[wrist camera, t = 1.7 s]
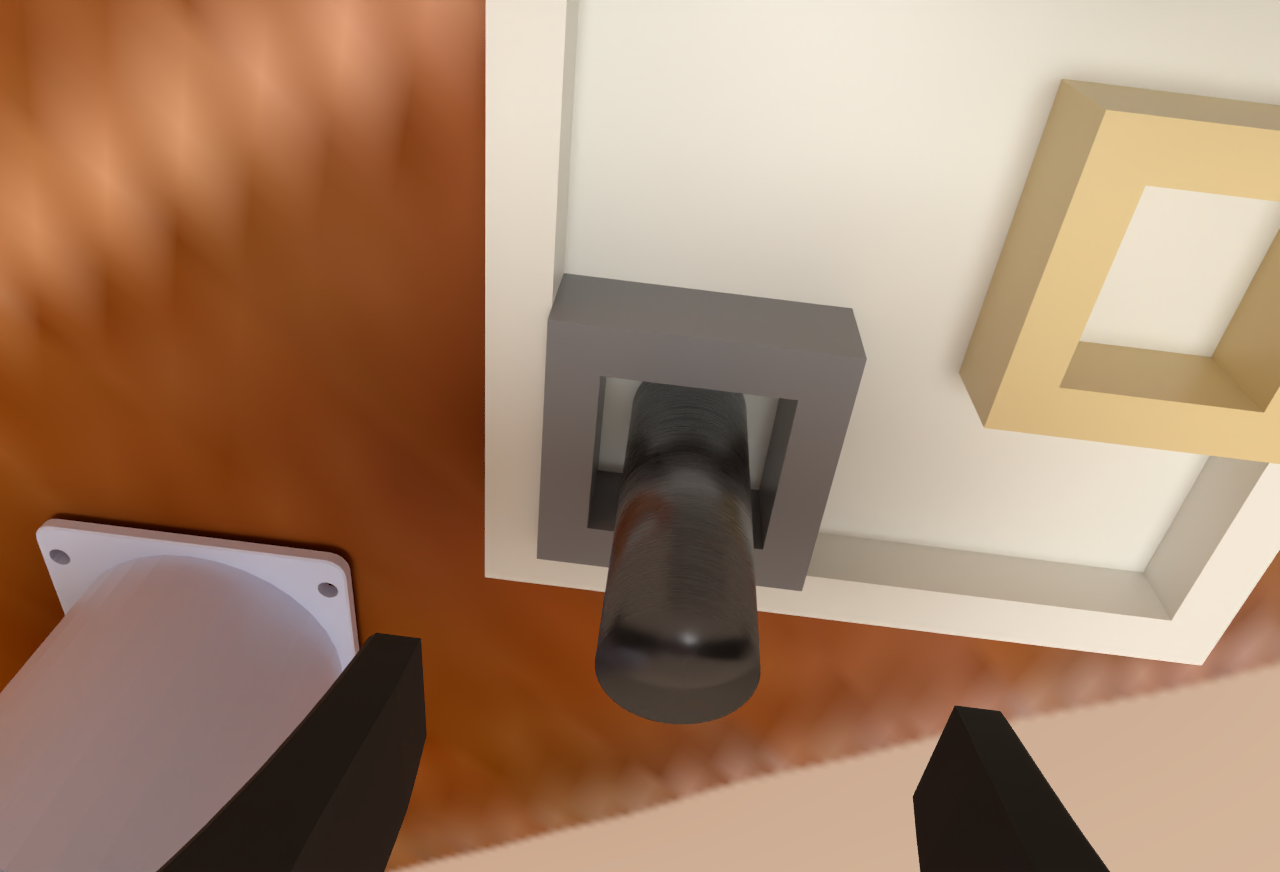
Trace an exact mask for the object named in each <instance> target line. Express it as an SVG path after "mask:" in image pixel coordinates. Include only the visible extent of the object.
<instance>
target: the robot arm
mask: <svg viewBox="0 0 1280 872" xmlns="http://www.w3.org/2000/svg"><path fill="white" fill-rule="evenodd" d="M36 539H37V542H38V544H39V547H40V550H41V552H42V555H43V558H44V560H45V563H46V566H47V568H48V571H49V574H50V576H51V579H52V582H53V584H54V587H55V590H56V592H57V595H58V598H59V600H60V603H61V606H62V609H63V611H64V614H65V616H64V618H63V619H62V620H61V621H60V622H59V624H58V625H57V626H56V627H55V628H54V630H53V631H52V632H51V633H50V634H49V636H48V637H47V638H46V639H45V640H44V641H43V643H42V644H41V645H40V646H39V647H38V649H37V650H36V651H35V652H34V653H33V655H32V656H31V657H30V658H29V659H28V661H27V662H26V663H25V664H24V665H23V667H22V668H21V669H20V670H19V671H18V673H17V674H16V675H15V676H14V677H13V679H12V680H11V681H10V682H9V683H8V685H7V686H6V687H5V688H4V689H3V691H2V692H1V693H0V872H384V871H385V868H386V865H387V863H388V860H389V857H390V855H391V852H392V849H393V846H394V844H395V841H396V838H397V836H398V833H399V830H400V828H401V825H402V822H403V820H404V817H405V814H406V811H407V808H408V804H409V801H410V797H411V793H412V790H413V786H414V782H415V778H416V775H417V771H418V767H419V763H420V759H421V755H422V751H423V747H424V743H425V739H426V718H425V701H424V684H423V667H422V649H421V639H420V638H412V637H404V636H396V635H388V634H380V633H375V634H374V635H372V636H370V637H369V638H368V639H367V640H366V642H365V643H364V644H363V646H362V647H361V648H360V650H359V643H358V634H357V625H356V616H355V608H354V599H353V590H352V581H351V573H350V567H349V565H348V563H347V562H346V561H345V560H344V558H342V557H341V556H339V555H337V554H334V553H330V552H323V551H315V550H307V549H299V548H291V547H283V546H274V545H266V544H258V543H250V542H242V541H234V540H226V539H218V538H210V537H201V536H193V535H185V534H177V533H169V532H161V531H153V530H145V529H136V528H128V527H120V526H112V525H104V524H96V523H88V522H80V521H71V520H63V519H50V520H48V521H46V522H45V523H44V524H43V525H42V526H41V527H40V528H39V529H38V530H37V532H36ZM327 583H330V584H333V585H334V586H335V587H333V586H330V585H328V584H327ZM913 803H914V814H915V826H916V837H917V846H918V855H919V863H920V872H1110V871H1109V870H1108V868H1107V867H1106V865H1105V864H1104V863H1103V861H1102V860H1101V859H1100V857H1099V856H1098V854H1097V853H1096V852H1095V850H1094V849H1093V847H1092V846H1091V845H1090V843H1089V842H1088V840H1087V839H1086V838H1085V836H1084V835H1083V833H1082V832H1081V830H1080V829H1079V827H1078V826H1077V825H1076V823H1075V822H1074V820H1073V819H1072V817H1071V816H1070V814H1069V813H1068V811H1067V810H1066V808H1065V807H1064V806H1063V804H1062V803H1061V801H1060V800H1059V798H1058V797H1057V795H1056V794H1055V792H1054V791H1053V789H1052V788H1051V786H1050V785H1049V783H1048V782H1047V780H1046V779H1045V777H1044V776H1043V774H1042V773H1041V771H1040V770H1039V768H1038V767H1037V765H1036V764H1035V762H1034V761H1033V759H1032V758H1031V756H1030V755H1029V753H1028V751H1027V750H1026V749H1025V747H1024V745H1023V744H1022V742H1021V741H1020V739H1019V738H1018V736H1017V735H1016V733H1015V732H1014V730H1013V729H1012V727H1011V726H1010V724H1009V723H1008V721H1007V720H1006V718H1005V717H1004V716H1003V714H1002V713H1001V712H1000V711H994V710H986V709H978V708H970V707H962V706H954V709H953V711H952V713H951V715H950V717H949V719H948V722H947V724H946V726H945V728H944V730H943V732H942V735H941V737H940V739H939V741H938V743H937V745H936V748H935V750H934V752H933V754H932V756H931V758H930V761H929V763H928V765H927V767H926V769H925V771H924V773H923V776H922V778H921V780H920V782H919V784H918V786H917V789H916V791H915V793H914V795H913Z"/></svg>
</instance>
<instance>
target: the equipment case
mask: <svg viewBox="0 0 1280 872" xmlns="http://www.w3.org/2000/svg"><path fill="white" fill-rule="evenodd" d="M643 381H645V382H653V383H661V384H669V385H677V386H685V387H694V388H702V389H710V390H718V391H726V392H734V393H742V394H743V396H744V399H745V403H746V413H747V431H748V450H749V468H750V487H751V505H752V524H753V543H754V561H755V580H756V598H757V611H763V612H772V613H780V614H788V615H796V616H804V617H812V618H820V619H828V620H836V621H845V622H853V623H861V624H869V625H877V626H885V627H893V628H901V629H910V630H918V631H926V632H934V633H942V634H950V635H958V636H966V637H974V638H983V639H991V640H999V641H1007V642H1015V643H1023V644H1031V645H1039V646H1048V647H1056V648H1064V649H1072V650H1080V651H1088V652H1096V653H1104V654H1112V655H1121V656H1129V657H1137V658H1145V659H1153V660H1161V661H1169V662H1177V663H1186V664H1194V665H1202V664H1203V663H1204V661H1205V660H1206V658H1207V657H1208V655H1209V654H1210V652H1211V651H1212V649H1213V648H1214V646H1215V645H1216V643H1217V642H1218V640H1219V639H1220V637H1221V636H1222V634H1223V633H1224V632H1225V630H1226V629H1227V627H1228V626H1229V624H1230V623H1231V621H1232V620H1233V618H1234V617H1235V615H1236V614H1237V612H1238V611H1239V609H1240V608H1241V606H1242V605H1243V603H1244V602H1245V600H1246V599H1247V597H1248V596H1249V594H1250V593H1251V591H1252V590H1253V588H1254V587H1255V586H1256V584H1257V583H1258V581H1259V580H1260V578H1261V577H1262V575H1263V574H1264V572H1265V571H1266V569H1267V568H1268V566H1269V565H1270V563H1271V562H1272V560H1273V559H1274V557H1275V556H1276V554H1277V553H1278V551H1279V550H1280V0H486V186H485V577H487V578H495V579H504V580H512V581H520V582H528V583H536V584H544V585H552V586H560V587H569V588H577V589H585V590H593V591H601V592H605V589H606V583H607V576H608V569H609V562H610V555H611V548H612V542H613V535H614V528H615V521H616V514H617V507H618V501H619V494H620V487H621V480H622V473H623V466H624V459H625V453H626V446H627V439H628V432H629V425H630V418H631V412H632V405H633V400H634V397H635V394H636V392H637V390H638V388H639V386H640V385H641V384H642V382H643Z"/></svg>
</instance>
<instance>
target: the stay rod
mask: <svg viewBox="0 0 1280 872" xmlns="http://www.w3.org/2000/svg"><path fill="white" fill-rule="evenodd" d="M595 670H596V675H597V678H598V681H599V683H600V685H601V687H602V688H603V690H604V691H605V692H606V694H607V695H608V696H609V697H610V698H611V699H612V700H613V701H614V702H616V703H617V704H618V705H620V706H621V707H622V708H624V709H626V710H627V711H629V712H631V713H633V714H635V715H638V716H640V717H643V718H646V719H649V720H653V721H657V722H662V723H669V724H695V723H702V722H708V721H711V720H715V719H718V718H721V717H723V716H726V715H728V714H730V713H732V712H733V711H735V710H737V709H738V708H739V707H741V706H742V705H743V704H744V703H746V702H747V701H748V700H749V698H750V697H751V696H752V695H753V693H754V691H755V690H756V688H757V685H758V683H759V679H760V654H759V635H758V617H757V598H756V580H755V561H754V543H753V524H752V505H751V487H750V468H749V450H748V431H747V413H746V403H745V399H744V396H743V394H742V393H734V392H726V391H718V390H710V389H702V388H694V387H685V386H677V385H669V384H661V383H653V382H645V381H643V382H642V384H641V385H640V386H639V388H638V390H637V392H636V394H635V397H634V400H633V405H632V412H631V418H630V425H629V432H628V439H627V446H626V453H625V459H624V466H623V473H622V480H621V487H620V494H619V501H618V507H617V514H616V521H615V528H614V535H613V542H612V548H611V555H610V562H609V569H608V576H607V583H606V589H605V596H604V603H603V610H602V617H601V624H600V631H599V637H598V644H597V651H596V658H595Z"/></svg>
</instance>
